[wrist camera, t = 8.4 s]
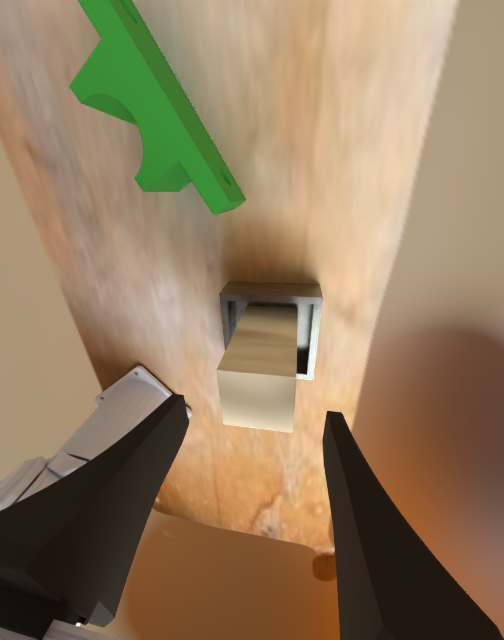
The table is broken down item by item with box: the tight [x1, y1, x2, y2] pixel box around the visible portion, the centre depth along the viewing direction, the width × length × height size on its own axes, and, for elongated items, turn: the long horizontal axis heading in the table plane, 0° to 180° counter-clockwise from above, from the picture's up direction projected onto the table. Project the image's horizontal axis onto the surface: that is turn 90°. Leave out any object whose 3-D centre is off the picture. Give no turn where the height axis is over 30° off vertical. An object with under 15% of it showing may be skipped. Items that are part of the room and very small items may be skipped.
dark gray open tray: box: [220, 282, 323, 380], centre depth 19 cm, size 7×7×2 cm
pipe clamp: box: [69, 0, 246, 215], centre depth 13 cm, size 11×4×5 cm, turn 33°
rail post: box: [217, 306, 298, 433], centre depth 16 cm, size 4×4×8 cm
